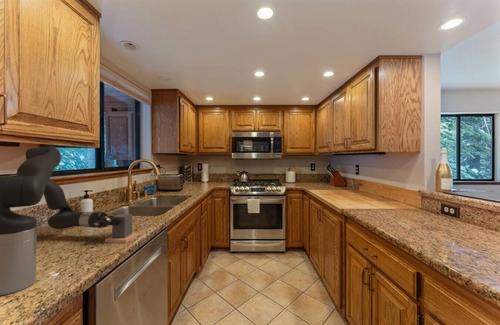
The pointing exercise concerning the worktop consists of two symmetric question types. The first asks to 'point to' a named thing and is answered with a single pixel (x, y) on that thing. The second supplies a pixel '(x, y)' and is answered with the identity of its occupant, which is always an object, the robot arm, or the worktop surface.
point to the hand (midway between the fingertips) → (125, 220)
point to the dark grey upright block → (122, 226)
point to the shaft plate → (121, 239)
